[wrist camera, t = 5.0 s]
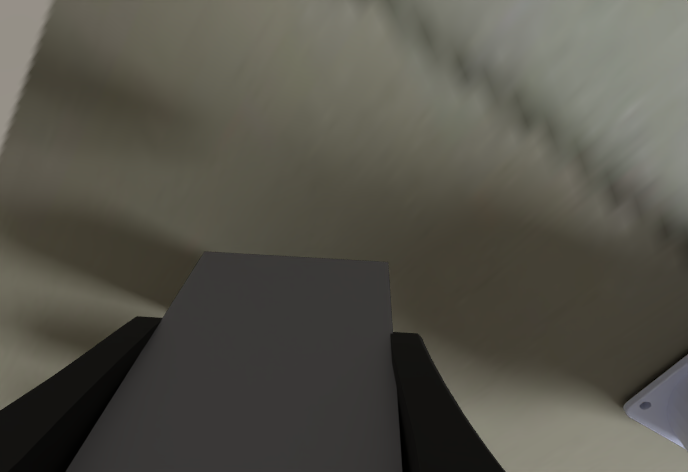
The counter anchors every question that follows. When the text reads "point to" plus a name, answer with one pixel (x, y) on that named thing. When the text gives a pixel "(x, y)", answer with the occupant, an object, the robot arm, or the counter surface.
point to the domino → (260, 374)
